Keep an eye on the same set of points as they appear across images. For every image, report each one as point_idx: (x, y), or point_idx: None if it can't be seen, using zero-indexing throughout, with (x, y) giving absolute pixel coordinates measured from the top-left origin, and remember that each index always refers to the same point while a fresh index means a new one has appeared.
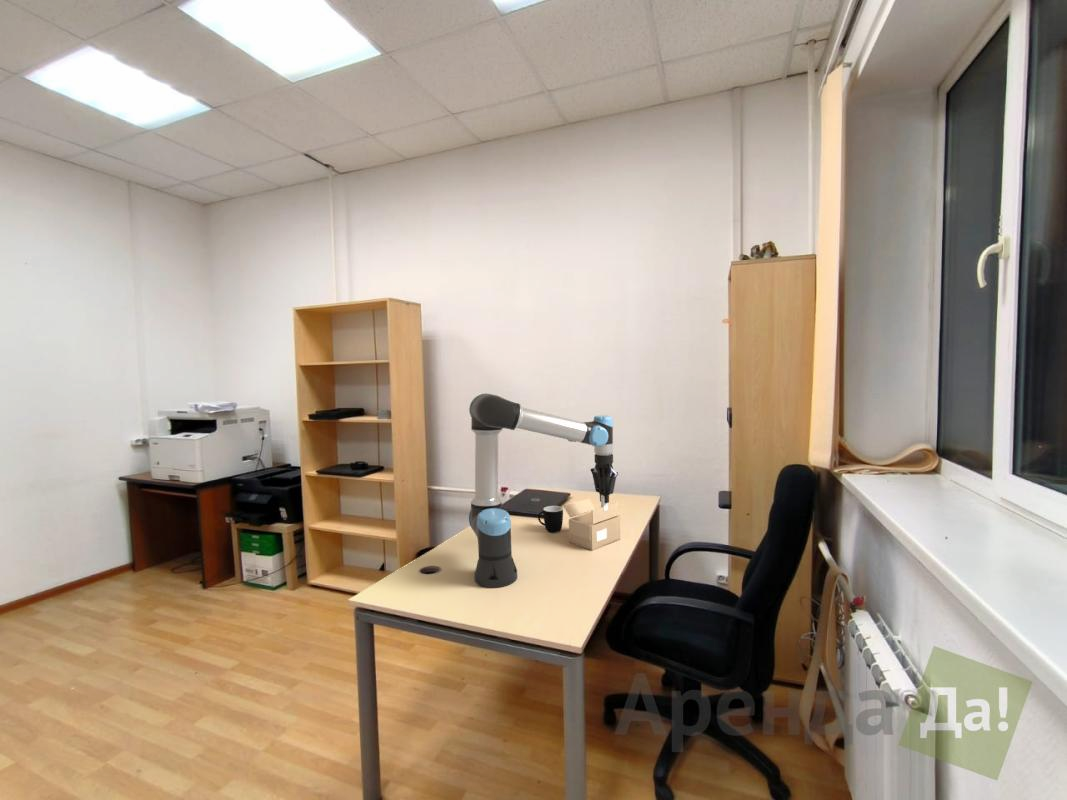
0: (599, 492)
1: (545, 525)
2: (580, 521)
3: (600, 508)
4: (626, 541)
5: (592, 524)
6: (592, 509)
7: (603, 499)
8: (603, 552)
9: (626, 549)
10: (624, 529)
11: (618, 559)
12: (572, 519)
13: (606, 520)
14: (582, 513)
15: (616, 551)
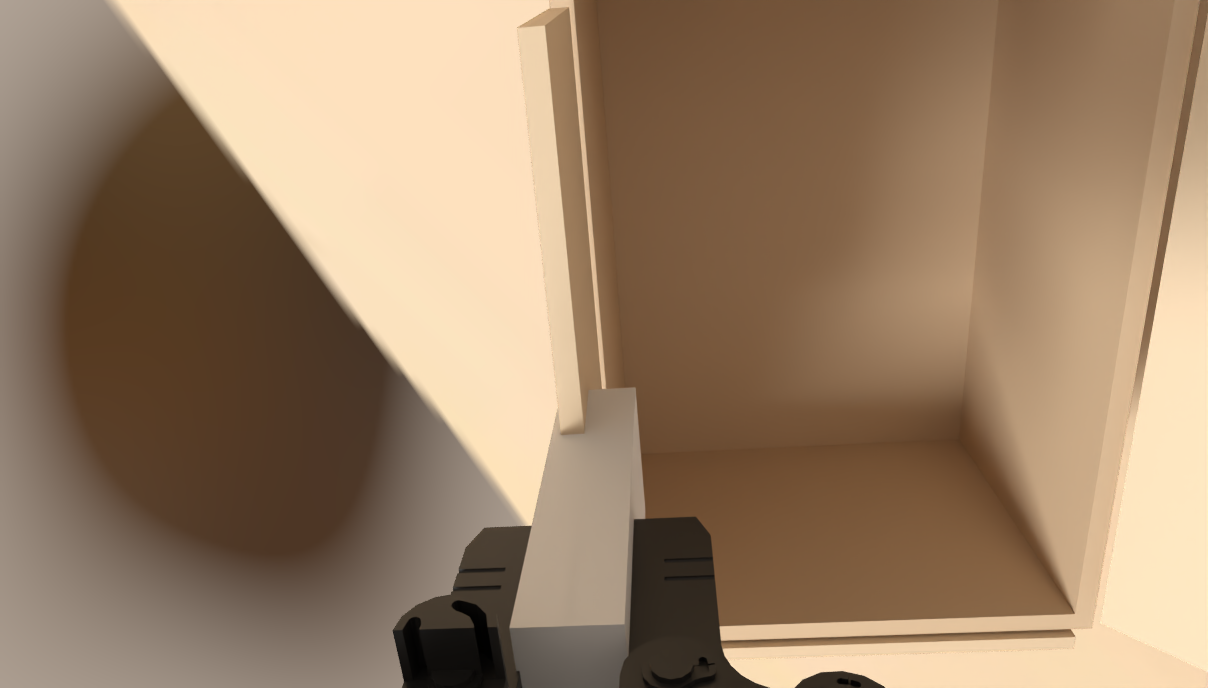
0: (698, 681)
1: None
2: (1086, 204)
3: (550, 332)
4: (537, 466)
5: (1009, 414)
6: (1123, 562)
7: (533, 548)
8: (452, 39)
9: (364, 306)
10: (795, 679)
11: (181, 21)
12: (1164, 3)
13: (843, 549)
14: (1159, 318)
15: (384, 182)
